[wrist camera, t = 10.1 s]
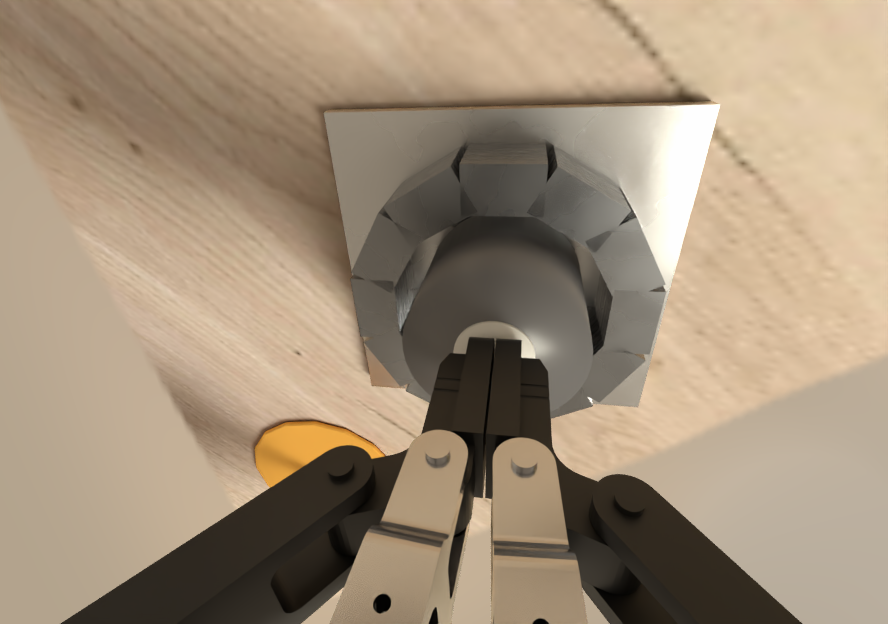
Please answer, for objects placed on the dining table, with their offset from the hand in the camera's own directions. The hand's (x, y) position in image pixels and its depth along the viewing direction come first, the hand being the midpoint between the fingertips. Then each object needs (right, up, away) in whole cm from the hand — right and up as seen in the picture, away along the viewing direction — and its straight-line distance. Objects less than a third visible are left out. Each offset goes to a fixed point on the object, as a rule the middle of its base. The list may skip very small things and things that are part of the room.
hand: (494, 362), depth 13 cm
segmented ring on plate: (+1, +3, +5) cm, 6 cm away
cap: (+1, +3, +4) cm, 5 cm away
